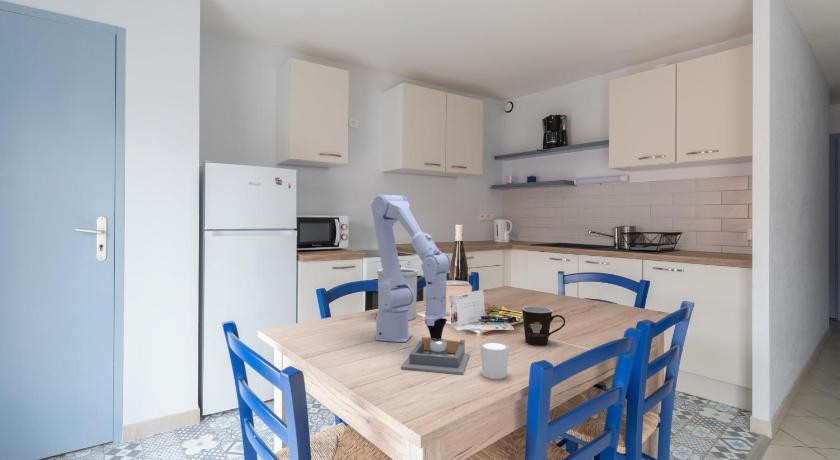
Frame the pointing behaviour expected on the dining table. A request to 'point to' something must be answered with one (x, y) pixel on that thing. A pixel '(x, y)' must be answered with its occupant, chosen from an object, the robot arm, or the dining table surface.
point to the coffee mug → (538, 324)
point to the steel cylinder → (438, 347)
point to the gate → (451, 344)
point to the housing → (436, 361)
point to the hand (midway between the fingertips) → (435, 344)
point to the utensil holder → (412, 279)
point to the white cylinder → (494, 359)
